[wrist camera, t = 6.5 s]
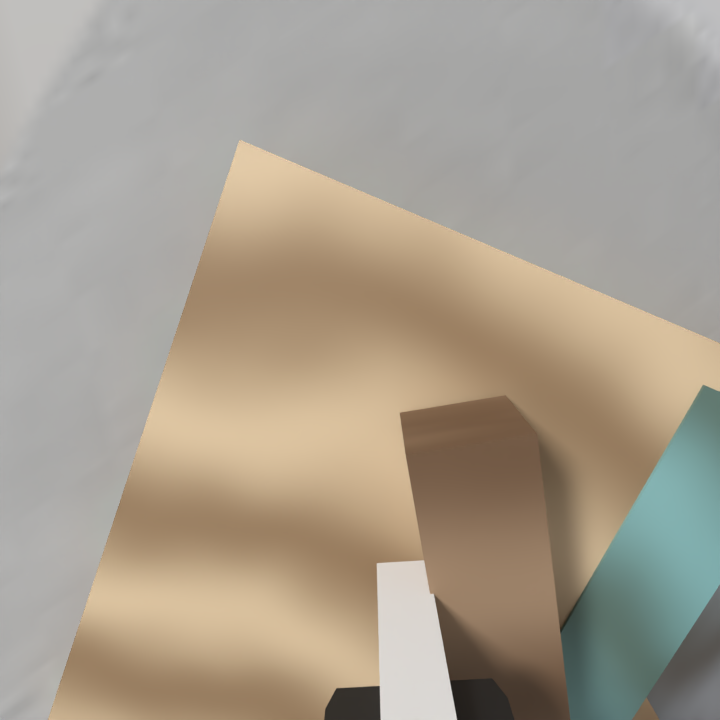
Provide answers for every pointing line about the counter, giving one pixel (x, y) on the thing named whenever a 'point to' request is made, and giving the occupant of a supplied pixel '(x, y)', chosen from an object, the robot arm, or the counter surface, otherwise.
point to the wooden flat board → (393, 466)
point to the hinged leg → (488, 549)
